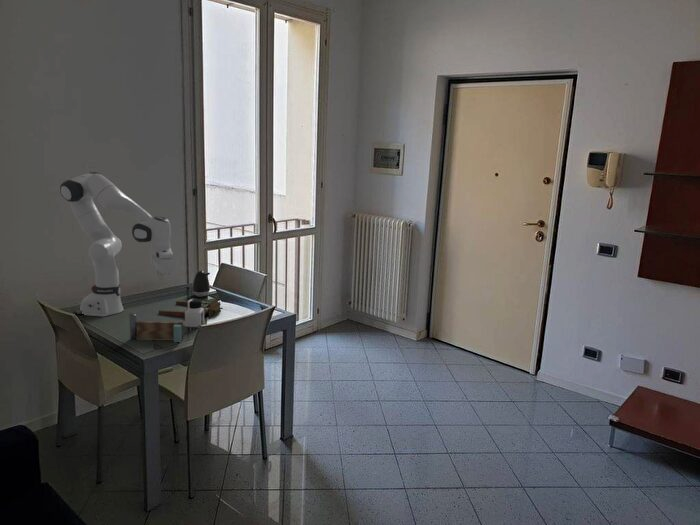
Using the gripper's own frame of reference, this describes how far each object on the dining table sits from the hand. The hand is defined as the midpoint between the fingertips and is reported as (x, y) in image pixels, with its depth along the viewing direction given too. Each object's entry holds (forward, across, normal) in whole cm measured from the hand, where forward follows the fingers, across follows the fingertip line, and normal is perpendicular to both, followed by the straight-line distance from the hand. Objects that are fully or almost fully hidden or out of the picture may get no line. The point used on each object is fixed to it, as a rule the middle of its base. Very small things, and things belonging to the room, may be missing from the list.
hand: (160, 278), depth 252 cm
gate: (+23, +18, -5) cm, 30 cm away
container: (+24, +6, +16) cm, 29 cm away
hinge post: (+24, +12, -15) cm, 31 cm away
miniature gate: (+24, -12, +22) cm, 35 cm away
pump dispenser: (+24, -38, +37) cm, 58 cm away
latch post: (+23, +24, +1) cm, 34 cm away
